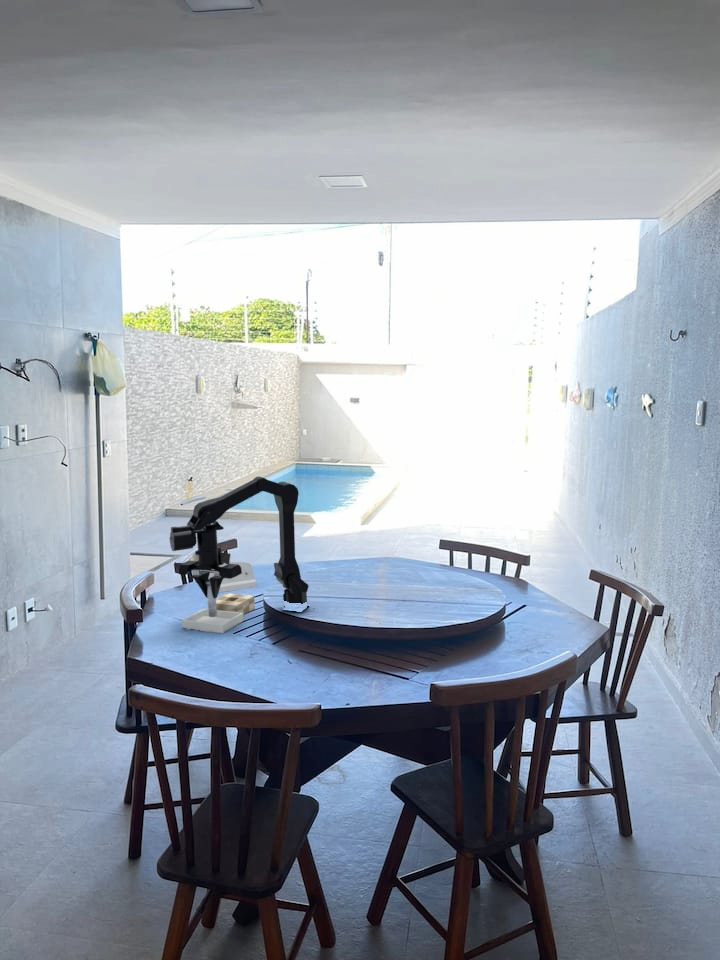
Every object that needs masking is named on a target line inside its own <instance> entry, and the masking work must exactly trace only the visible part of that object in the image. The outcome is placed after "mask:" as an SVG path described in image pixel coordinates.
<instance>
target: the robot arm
mask: <svg viewBox="0 0 720 960" xmlns="http://www.w3.org/2000/svg"><path fill="white" fill-rule="evenodd" d="M262 492H265V493H268V494H271V495H273V497H274V502H275V505H276V508H277V511H278V521H279V522H278V523H279V525H278V526H279V527H278V528H279V552H280V553H279V554H280V557H279V560H278V562H274V563H273V567H274V573H273V576H275V580H276V581H277V582H278V583H279V584H281V585H282V587H283V588H284V590H283V595H282V598H283V599H282V600H284V601H287V602H289V603H301V604H303V603H305V602H307V603H308V596H307V595H308V594H307V592H308V590H309V587H310V585H309V584H308V583H307V582H305V580H303V579H302V576H301V571H300V566H299V564H298V562H297V560H296V559H297V558H296V543H295V542H296V540H295V538H296V537H295V535H296V534H295V510H296V508H297V505H298V503H299V502H298V501H299V488H298V487H297V486H296V485H294V484H292V483H290V482H286V481H279V482H277V481H276V482H275V481H273V480H269V479H267V478H265V477H262V476H256V477H254V478H253V479H252V480H250V481H248V482H246V483H244V484H242V485H240V486H239V487H236V488H234V489H233V490H231V491H229V492H227V493H225V494H223V495H221V496H218V497H215V498H211V499H207V500H206V499H205V500H204V501H201V502H198V503H197V504H196V505H195V506H194V508H193V509H192V510H193V512H192V515H191V517H190V519H189V521H188V522H187V524H186V525H183V526H182V525H181V526H171V527H170V533H169V544H170V548H171V551H172V552H176V551H183V550H190V549H194V547H196V545H197V550H195V553H194V554H195V555H197V556H198V560H196V561H195V560H186V561H184V562H181V563H180V564H178V567H177V573H178V575H184V576H186V575H188V574H189V572H191V573H192V575H191V576H190V578H191V579H193V580H194V581H195V583H196V584H197V585H198V587H199V588H200V590H201V592H202V593H203V595H204V596H205V598H206V599H208V598H207V585H206V584H205V580H207V579H208V578H209V574H210V573H214V576H213V577H211V578H210V583H211V588H212V593H213V597H214V598H216V599H217V598H218V595H219V594H220V593H219V589H220V586H221V583H222V580H223V579H224V578H228V579H231V578H234V577H236V576H238V575H240V574H242V569H241V566H240V565H239V564H229V563H230V562H231V561H230V560H231V553H229V552H223V551H222V548H221V547H219V545H218V534H217V533H218V531H220V530H224V526H222V525H221V524H220V523H219V522H218V520H219V519H221V517H223V515H225V513H226V512H227V511H228V510H230V509H232V508H233V507H235V506H239V504H241V503H243V502H245V501H247V500H249V499H251V498H252V497H254V496H255V495H258V494H260V493H262ZM224 563H226V564H228V565H225V566H223V567H219V565H223V564H224ZM212 569H214V570H212Z"/></svg>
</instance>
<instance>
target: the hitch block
mask: <svg viewBox="0 0 720 960" xmlns="http://www.w3.org/2000/svg"><path fill="white" fill-rule="evenodd" d="M255 602H256V599H255V595H251V594H249V595H248V594H239V593H238V594H237V593H230V592H225V594H222V595H221V596H219V597H217V598H216V607H217V610H220V611H229V612H238V613H243V616H244V615H246V614H248V613H249V612H252V611H253V610H255V609H256V604H255Z"/></svg>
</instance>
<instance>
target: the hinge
mask: <svg viewBox="0 0 720 960" xmlns="http://www.w3.org/2000/svg"><path fill="white" fill-rule="evenodd" d="M229 564H239V565H240V566H241V569H242V574H240V575H238V576H236V577H234V578H231V579H228V578H224V579H223V580H222V583H221V586H220V589H219V593H218V594H220V593H228V592H232V591H238V590H244V589H250V588H257V587H258V586H257V580H256V578H255V574H254V570H253V568H252V567H253V566H252V564H251V563H249V562H245V561H235V560H234V561H230V563H229ZM225 565H228V564H226V563H224V564H223V565H219V567H223V566H225ZM212 570H214V569H212ZM213 576H214V573H210V574H209V578H208V579H210V578H211V577H213Z"/></svg>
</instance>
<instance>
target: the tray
mask: <svg viewBox="0 0 720 960" xmlns="http://www.w3.org/2000/svg"><path fill="white" fill-rule="evenodd" d="M243 622H244V615H243V613H238V612H229V611H220V610H217V616H215V617H209V611H208V608H203V609H200V610H199V611H196V612H194V613H193V614H191V615H189V616H188V617H185V618H184V619H182V620H181V625H182V627H183V628H189V629H188V630H190V629H195V630H194V631H198V630H200V632H208V633H214V634H223V635H224V634H225V633H226V632H228V631H229V630H232V629H233V628H235V627H237V626H238V625H240V624H241V623H243ZM182 627H181V628H182ZM183 628H182V629H183Z"/></svg>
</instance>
